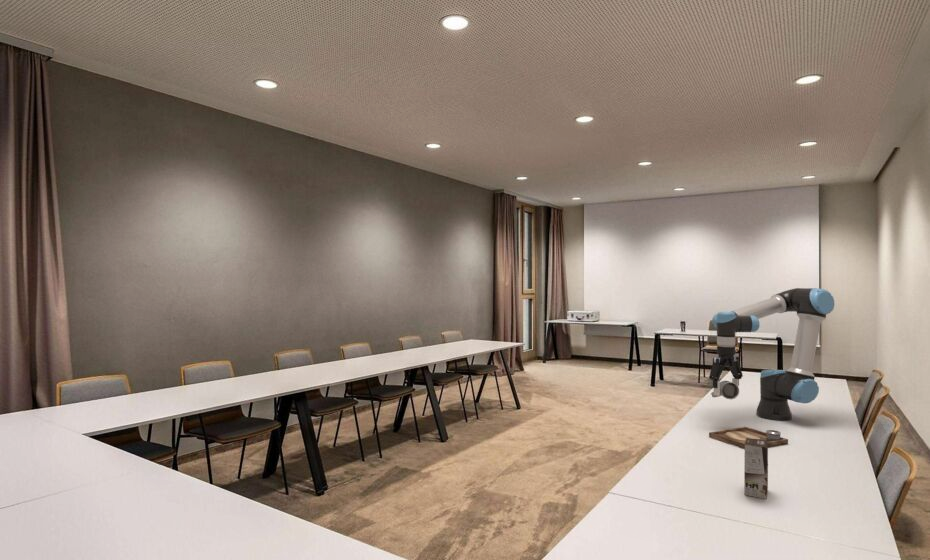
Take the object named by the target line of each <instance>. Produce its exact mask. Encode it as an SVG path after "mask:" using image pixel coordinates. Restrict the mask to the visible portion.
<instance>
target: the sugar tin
mask: <svg viewBox="0 0 930 560" xmlns="http://www.w3.org/2000/svg"><path fill="white" fill-rule="evenodd" d="M765 433H766V440H767V441H769V442H771V441H776V440H780V437H781V431H779V430H774V429H773V430H772V429H769V430H768V429H767V430H766V431H765Z"/></svg>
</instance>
